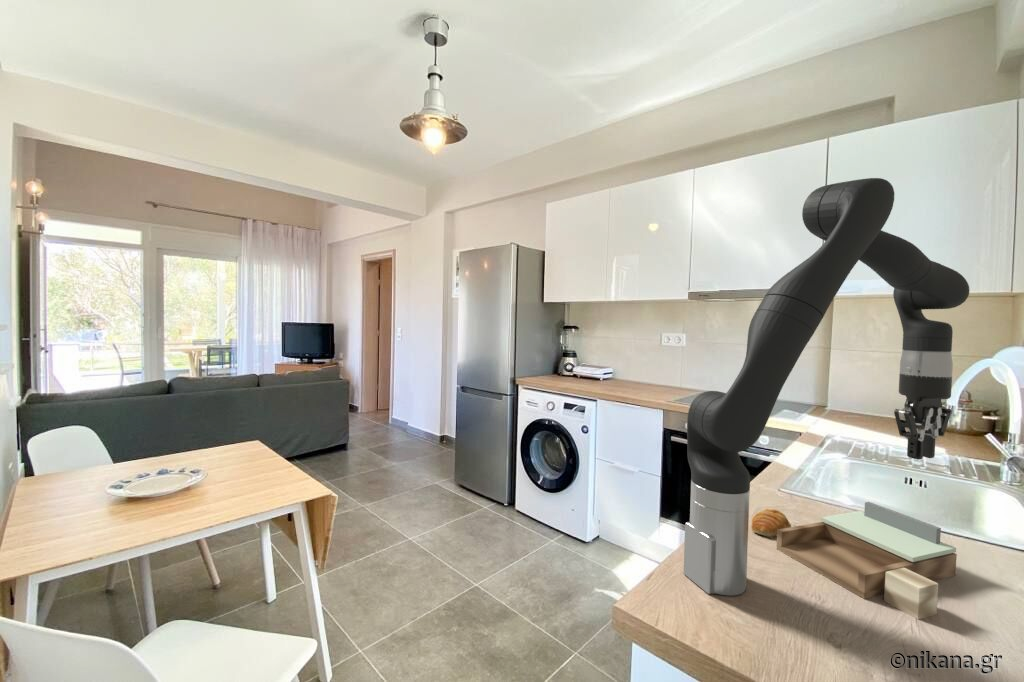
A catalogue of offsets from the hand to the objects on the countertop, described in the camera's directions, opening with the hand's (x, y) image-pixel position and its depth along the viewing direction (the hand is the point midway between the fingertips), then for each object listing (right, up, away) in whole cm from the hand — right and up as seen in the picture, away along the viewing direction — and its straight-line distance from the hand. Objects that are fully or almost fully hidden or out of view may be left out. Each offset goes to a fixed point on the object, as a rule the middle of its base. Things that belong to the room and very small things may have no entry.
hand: (920, 457), depth 84 cm
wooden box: (-16, -19, -4) cm, 25 cm away
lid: (-10, -15, -2) cm, 18 cm away
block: (-19, -20, -17) cm, 32 cm away
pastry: (-26, -19, +8) cm, 33 cm away
